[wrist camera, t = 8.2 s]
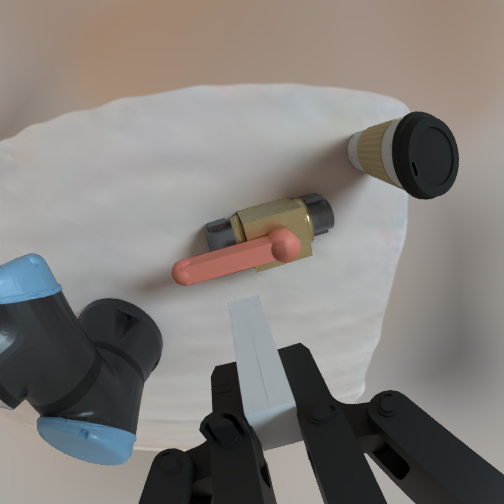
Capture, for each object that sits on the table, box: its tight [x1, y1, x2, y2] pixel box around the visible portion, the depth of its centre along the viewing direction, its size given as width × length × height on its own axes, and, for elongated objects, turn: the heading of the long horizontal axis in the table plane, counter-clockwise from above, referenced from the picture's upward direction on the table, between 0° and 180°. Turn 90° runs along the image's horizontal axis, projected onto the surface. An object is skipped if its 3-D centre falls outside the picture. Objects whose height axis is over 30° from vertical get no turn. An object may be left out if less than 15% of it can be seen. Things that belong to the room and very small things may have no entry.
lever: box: [172, 227, 301, 285], centre depth 29 cm, size 14×3×3 cm, turn 104°
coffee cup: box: [347, 111, 459, 199], centre depth 29 cm, size 10×10×15 cm
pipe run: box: [206, 193, 334, 272], centre depth 34 cm, size 16×6×8 cm, turn 105°
